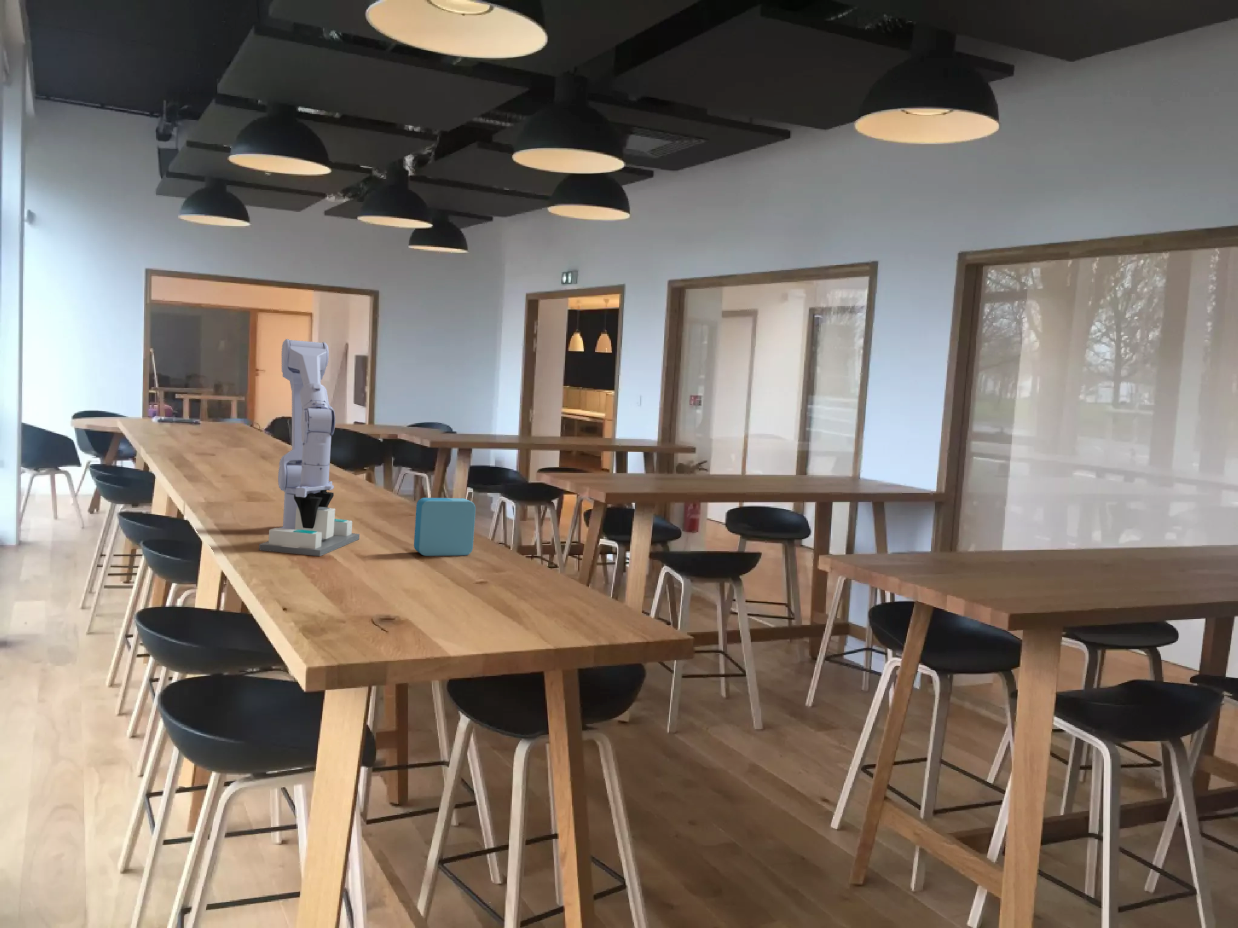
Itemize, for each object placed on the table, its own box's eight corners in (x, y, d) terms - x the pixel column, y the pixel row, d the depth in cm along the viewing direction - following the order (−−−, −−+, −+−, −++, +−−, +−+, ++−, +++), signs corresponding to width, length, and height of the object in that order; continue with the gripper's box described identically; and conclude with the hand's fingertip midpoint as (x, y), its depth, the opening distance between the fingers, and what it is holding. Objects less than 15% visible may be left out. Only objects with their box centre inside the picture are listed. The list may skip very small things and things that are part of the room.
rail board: (304, 533, 219) (305, 514, 219) (359, 539, 218) (360, 520, 218) (259, 549, 198) (260, 529, 197) (320, 556, 196) (321, 535, 196)
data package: (466, 551, 214) (469, 498, 213) (472, 555, 210) (476, 501, 209) (413, 552, 209) (416, 497, 208) (419, 556, 205) (422, 500, 204)
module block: (302, 532, 210) (304, 504, 210) (333, 535, 209) (335, 508, 209) (294, 535, 206) (296, 506, 206) (325, 538, 205) (327, 510, 205)
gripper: (320, 468, 199) (316, 533, 200) (346, 463, 213) (343, 523, 214) (287, 465, 200) (284, 530, 201) (315, 460, 214) (312, 520, 215)
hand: (312, 526), depth 208 cm, fingers closed on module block, 4 cm apart
